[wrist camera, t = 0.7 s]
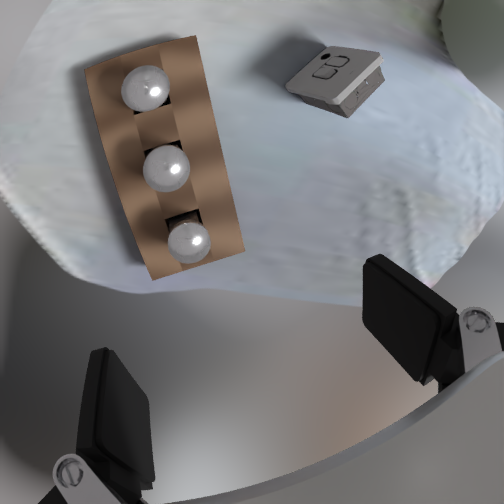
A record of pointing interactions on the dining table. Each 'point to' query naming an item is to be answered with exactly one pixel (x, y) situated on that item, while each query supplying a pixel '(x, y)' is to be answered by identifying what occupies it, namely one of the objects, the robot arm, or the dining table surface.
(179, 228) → the knob far
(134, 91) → the knob near
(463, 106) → the dining table surface
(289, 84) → the electrical switch
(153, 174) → the knob mid
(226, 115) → the dining table surface
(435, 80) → the dining table surface
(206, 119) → the knob mount
